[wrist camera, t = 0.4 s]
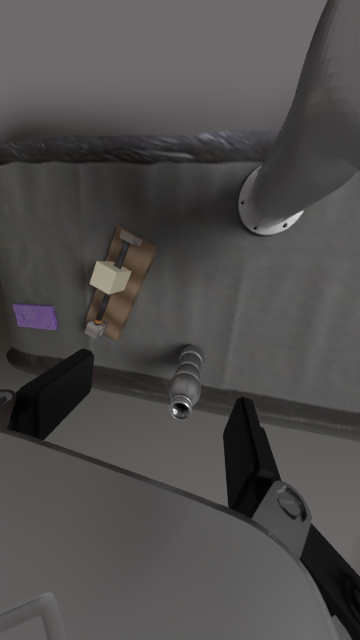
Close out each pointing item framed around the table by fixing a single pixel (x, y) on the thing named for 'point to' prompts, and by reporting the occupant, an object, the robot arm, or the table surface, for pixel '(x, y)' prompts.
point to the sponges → (35, 316)
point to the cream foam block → (109, 277)
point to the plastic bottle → (186, 382)
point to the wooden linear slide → (115, 308)
